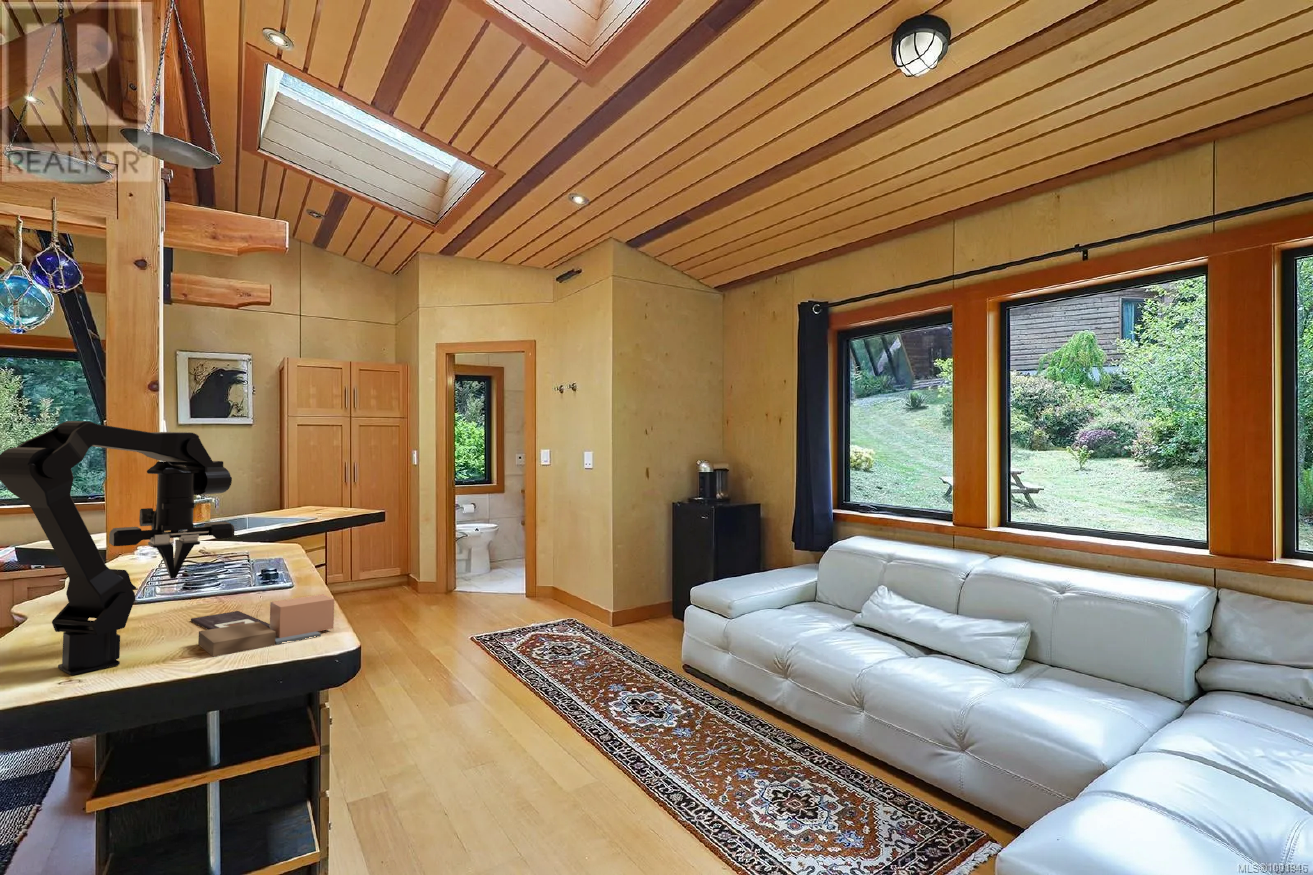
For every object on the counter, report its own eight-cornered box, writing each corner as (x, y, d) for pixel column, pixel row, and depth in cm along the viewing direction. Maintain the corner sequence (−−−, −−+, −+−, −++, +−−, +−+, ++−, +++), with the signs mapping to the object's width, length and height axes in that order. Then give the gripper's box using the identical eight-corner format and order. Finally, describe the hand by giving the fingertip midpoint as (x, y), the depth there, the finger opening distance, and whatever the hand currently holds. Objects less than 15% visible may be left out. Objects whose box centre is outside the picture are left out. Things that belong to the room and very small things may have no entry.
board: (213, 656, 115) (213, 642, 115) (198, 644, 121) (198, 631, 121) (275, 645, 122) (275, 631, 122) (258, 634, 129) (258, 621, 129)
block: (280, 607, 125) (334, 599, 132) (270, 601, 129) (323, 594, 136) (279, 638, 125) (333, 628, 132) (269, 631, 129) (322, 622, 136)
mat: (276, 644, 122) (276, 641, 122) (259, 633, 129) (259, 630, 129) (320, 636, 128) (320, 633, 128) (302, 626, 135) (302, 623, 135)
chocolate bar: (238, 610, 144) (273, 625, 133) (238, 615, 144) (272, 630, 133) (190, 618, 137) (223, 634, 126) (190, 623, 137) (223, 639, 126)
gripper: (220, 492, 136) (218, 566, 136) (105, 496, 122) (102, 578, 122) (236, 496, 129) (233, 574, 128) (115, 500, 115) (112, 587, 115)
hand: (172, 578), depth 124 cm, fingers closed
